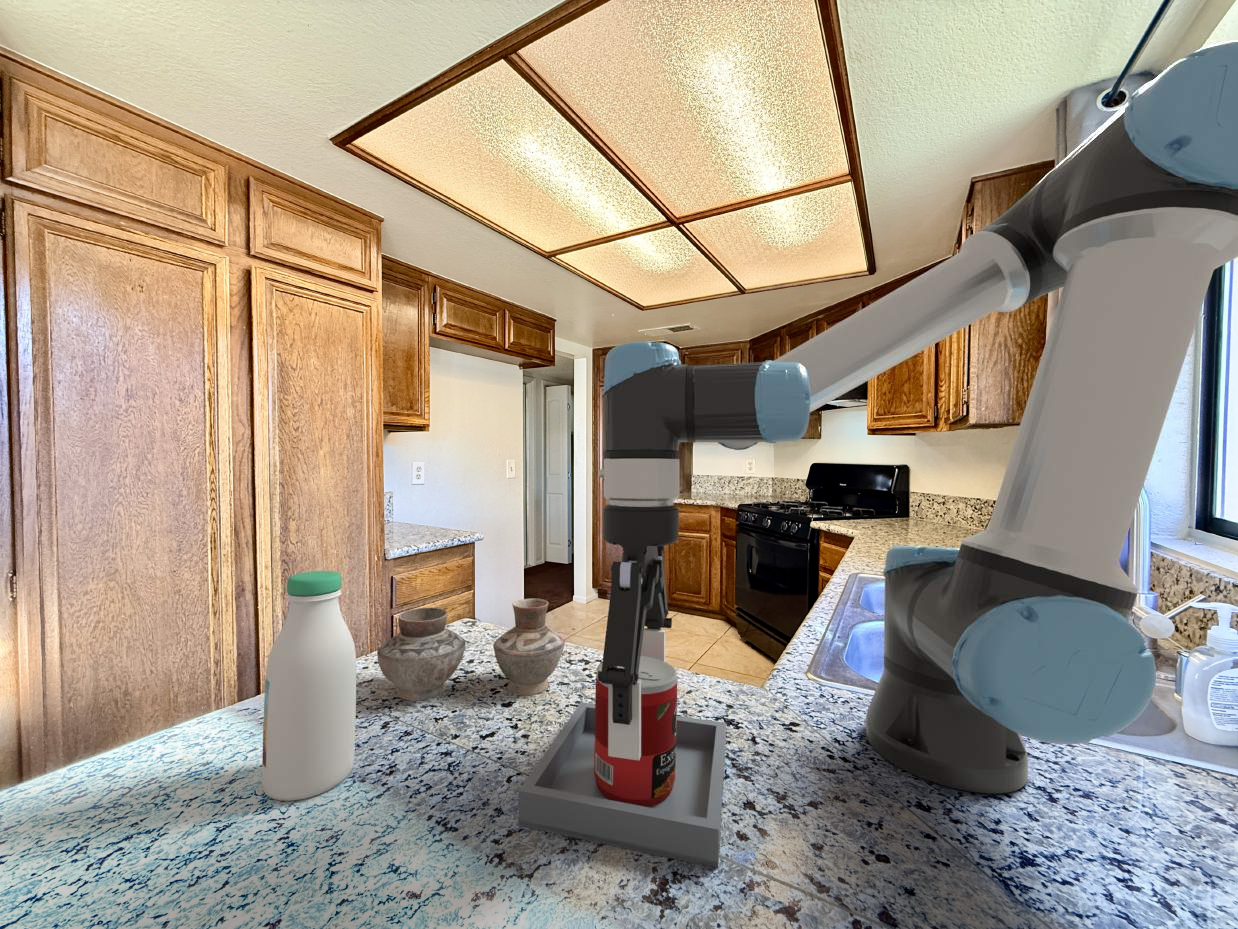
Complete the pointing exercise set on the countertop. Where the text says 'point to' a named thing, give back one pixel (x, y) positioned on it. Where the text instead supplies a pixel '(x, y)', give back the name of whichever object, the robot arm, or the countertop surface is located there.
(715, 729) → the tray
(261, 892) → the countertop surface
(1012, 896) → the countertop surface
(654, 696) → the canned food
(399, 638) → the pottery
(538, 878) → the countertop surface
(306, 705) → the milk bottle
